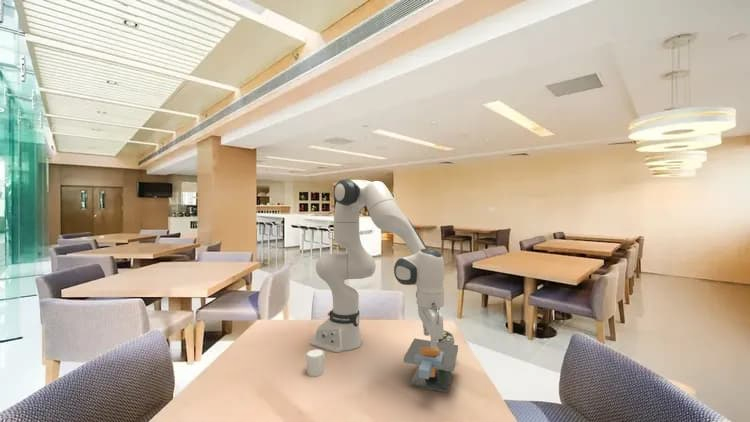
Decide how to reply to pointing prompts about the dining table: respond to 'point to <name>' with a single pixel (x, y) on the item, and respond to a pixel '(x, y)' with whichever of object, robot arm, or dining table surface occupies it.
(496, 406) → the dining table surface
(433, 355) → the orange t-shaped block
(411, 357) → the metal plate
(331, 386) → the dining table surface
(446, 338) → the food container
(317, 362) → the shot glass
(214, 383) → the dining table surface
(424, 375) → the bracket
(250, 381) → the dining table surface
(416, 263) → the robot arm
